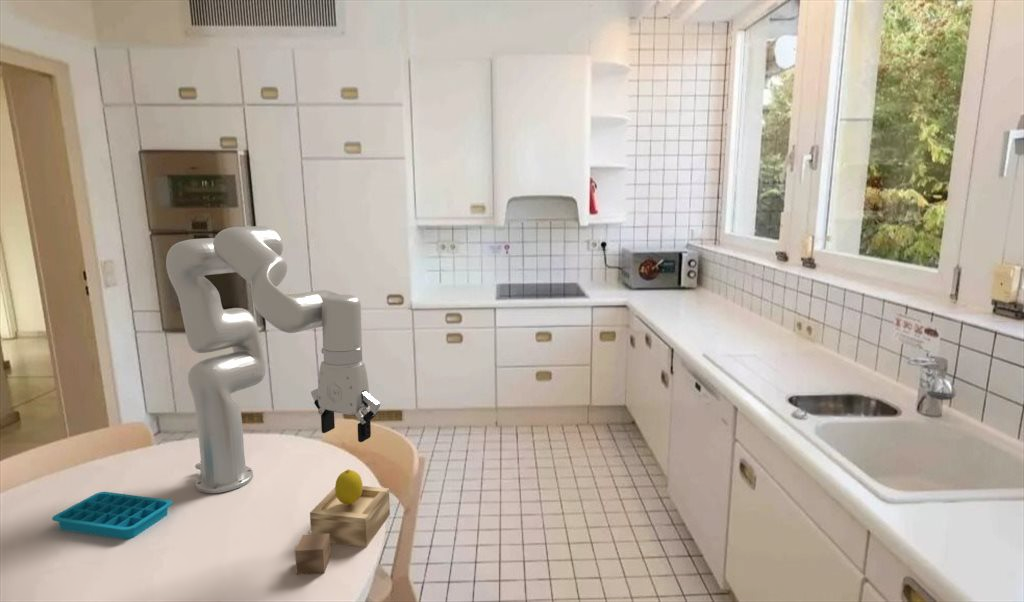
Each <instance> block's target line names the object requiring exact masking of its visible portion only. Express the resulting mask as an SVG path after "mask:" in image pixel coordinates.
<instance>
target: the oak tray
mask: <svg viewBox="0 0 1024 602" xmlns="http://www.w3.org/2000/svg"><path fill="white" fill-rule="evenodd" d="M390 507H391V505H390V488H388V487H386V488H385V487H376V486H366V485H363V488H362V494H361V496H360V498H359V499H358V500H357V501H356V502H354V503H352V504H351V505H347V504H344V503H342V502H340V501H339V500H338V498H337V496H336V492H335V487H334V488H332V489H331V491H329V493H328V494H327V495H326V496H324V498H322V500H321V501H320V502H319V503H318V504H317V505H316V506H315V507H314V508H313V509H312V510H311V511H310V512H309V517H310V518H309V520H310V534H328V533H329V534H330V544H338V545H346V546H356V547H362V548H363V547H364V548H367V547H368V546H369V544H370V543H371V542H372V540H373V539H374V537H375V536H376V535H377V533H378V532H379V530H380V529H381V528H382V526H383V525H384V523H386V521H387V520H388V518H389V517H390V515H391V510H390V509H391V508H390Z"/></svg>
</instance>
